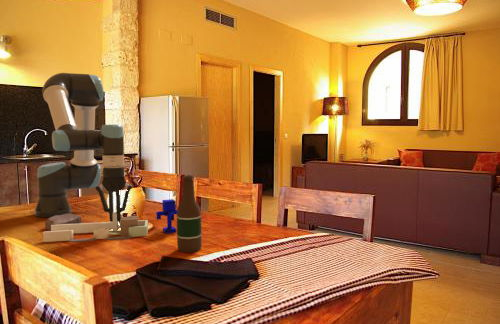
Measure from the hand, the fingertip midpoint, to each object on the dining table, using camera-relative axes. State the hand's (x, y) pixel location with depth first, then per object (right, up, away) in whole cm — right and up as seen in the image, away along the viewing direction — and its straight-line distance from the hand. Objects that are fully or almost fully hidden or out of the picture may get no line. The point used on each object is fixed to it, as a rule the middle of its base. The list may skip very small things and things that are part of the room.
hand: (115, 230), depth 149 cm
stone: (-25, -1, +12) cm, 27 cm away
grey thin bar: (-3, -2, -7) cm, 8 cm away
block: (+5, -2, +1) cm, 5 cm away
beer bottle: (+30, -3, -19) cm, 36 cm away
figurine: (+19, -1, +4) cm, 20 cm away
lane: (-6, -2, -1) cm, 7 cm away
